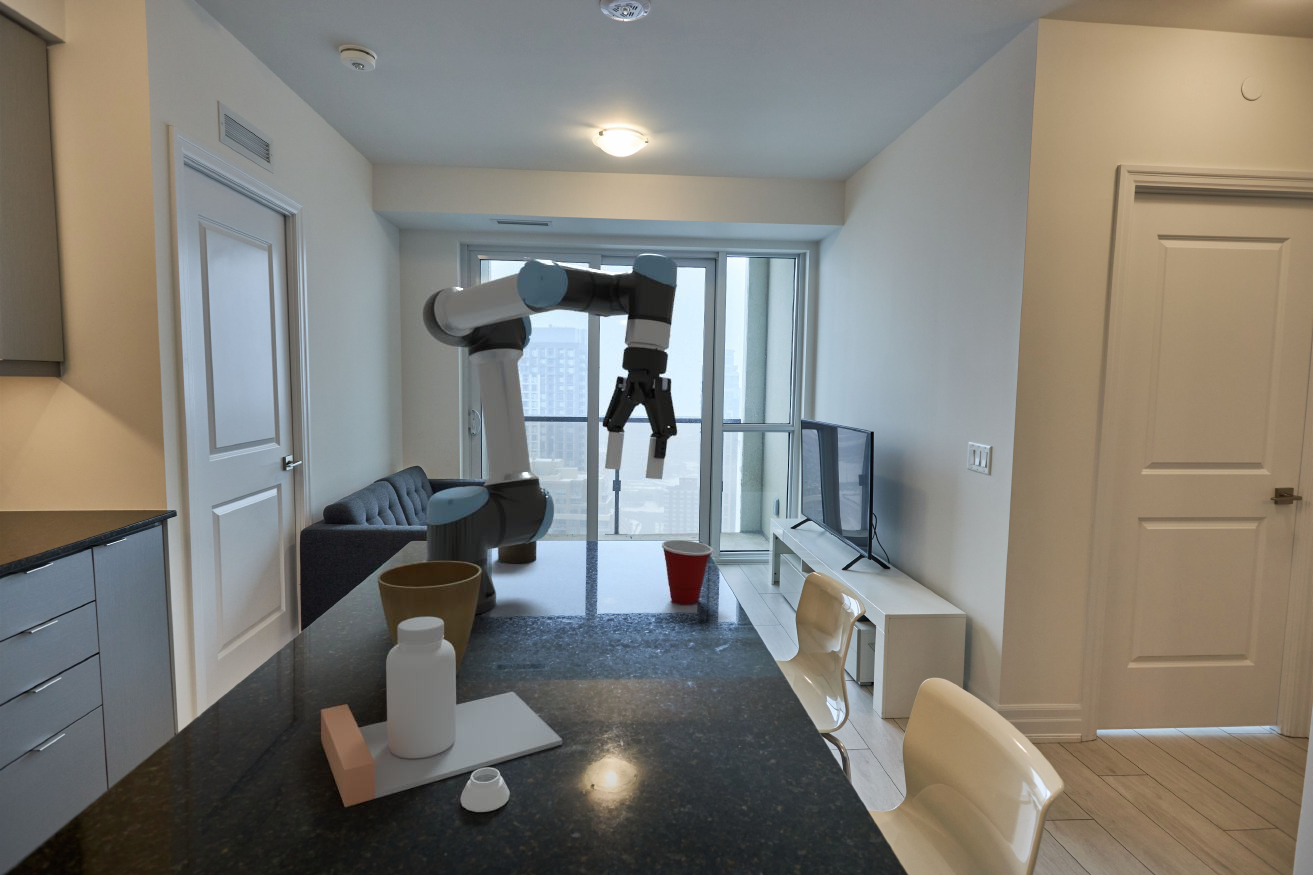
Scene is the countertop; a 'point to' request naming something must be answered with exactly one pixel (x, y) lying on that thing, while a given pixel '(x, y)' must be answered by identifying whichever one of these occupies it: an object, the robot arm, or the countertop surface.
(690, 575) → the plastic cup
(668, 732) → the countertop surface
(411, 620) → the pill bottle
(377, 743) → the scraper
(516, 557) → the pillar candle
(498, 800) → the lidless jar
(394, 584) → the plant pot
